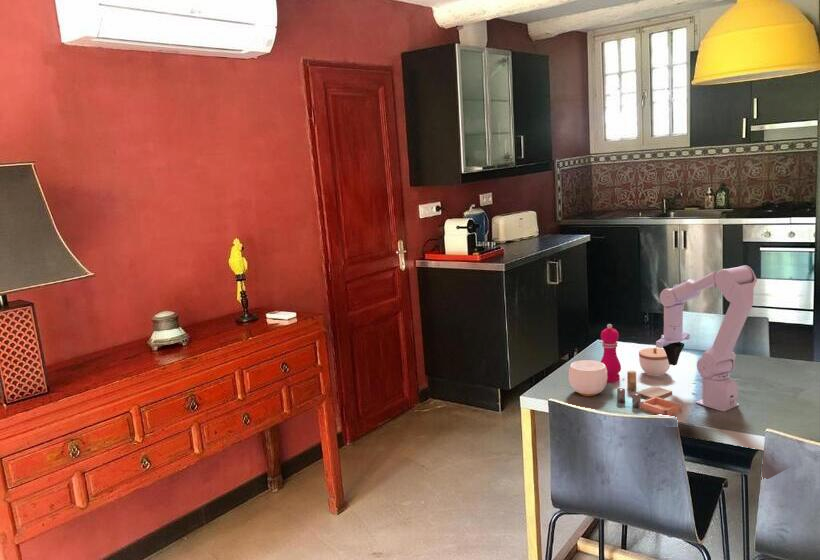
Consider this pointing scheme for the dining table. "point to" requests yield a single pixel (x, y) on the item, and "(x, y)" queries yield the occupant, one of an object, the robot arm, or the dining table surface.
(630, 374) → the dowel
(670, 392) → the tan flat wooden block
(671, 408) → the dish
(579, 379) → the cup
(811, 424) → the dining table surface
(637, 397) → the bench dogs
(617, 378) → the pepper mill
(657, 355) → the lidded jar
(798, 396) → the dining table surface
